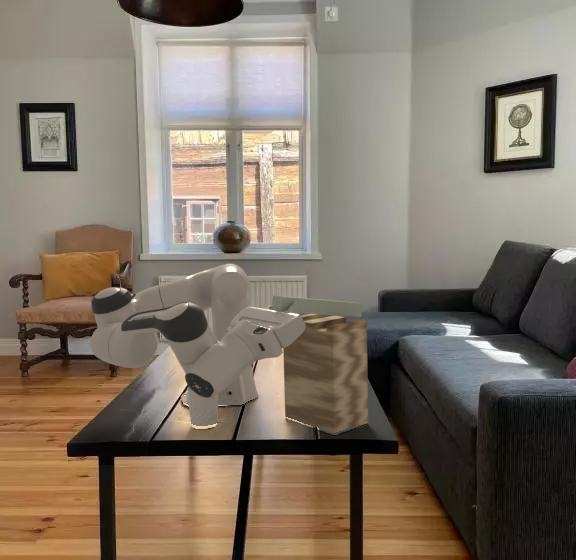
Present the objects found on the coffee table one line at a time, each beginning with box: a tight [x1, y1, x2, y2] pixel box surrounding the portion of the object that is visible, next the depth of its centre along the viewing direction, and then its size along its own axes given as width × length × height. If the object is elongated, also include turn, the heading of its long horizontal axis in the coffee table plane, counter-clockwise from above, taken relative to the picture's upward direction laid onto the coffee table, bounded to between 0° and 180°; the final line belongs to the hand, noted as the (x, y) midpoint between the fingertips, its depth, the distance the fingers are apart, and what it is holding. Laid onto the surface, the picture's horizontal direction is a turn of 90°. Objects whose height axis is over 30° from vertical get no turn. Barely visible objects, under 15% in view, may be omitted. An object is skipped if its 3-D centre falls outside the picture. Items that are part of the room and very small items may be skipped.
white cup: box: [186, 386, 219, 426], centre depth 157 cm, size 8×8×10 cm
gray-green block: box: [271, 295, 364, 318], centre depth 150 cm, size 27×4×4 cm, turn 130°
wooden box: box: [282, 314, 369, 433], centre depth 157 cm, size 12×18×26 cm, turn 41°
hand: (289, 303), depth 144 cm, fingers closed on gray-green block, 3 cm apart
